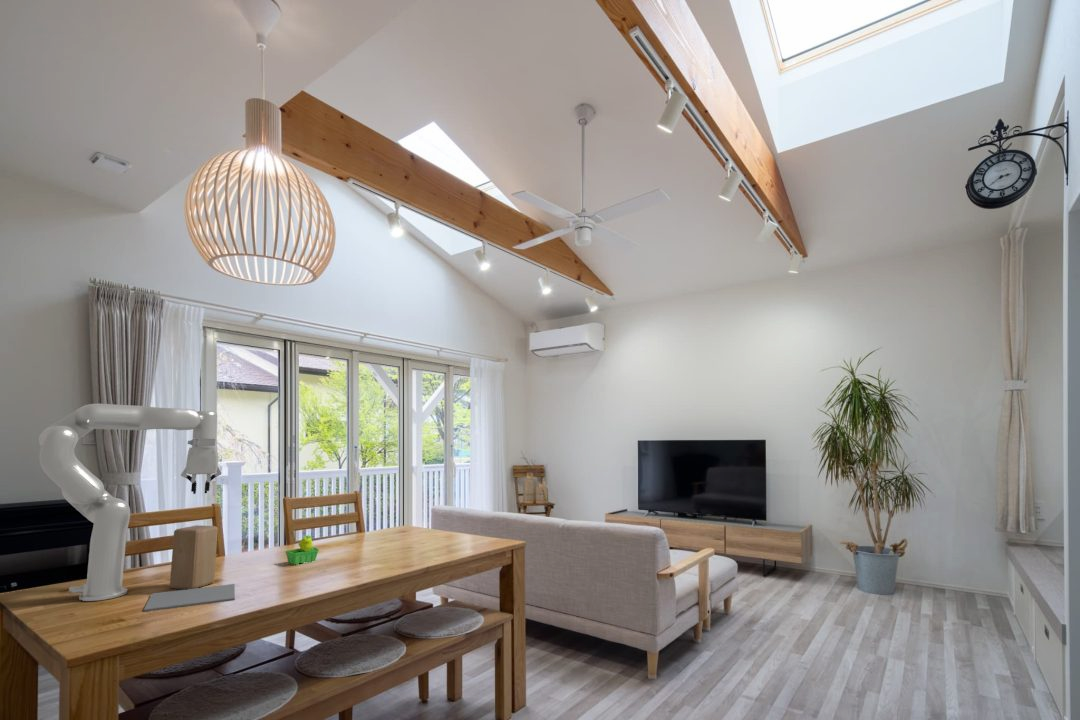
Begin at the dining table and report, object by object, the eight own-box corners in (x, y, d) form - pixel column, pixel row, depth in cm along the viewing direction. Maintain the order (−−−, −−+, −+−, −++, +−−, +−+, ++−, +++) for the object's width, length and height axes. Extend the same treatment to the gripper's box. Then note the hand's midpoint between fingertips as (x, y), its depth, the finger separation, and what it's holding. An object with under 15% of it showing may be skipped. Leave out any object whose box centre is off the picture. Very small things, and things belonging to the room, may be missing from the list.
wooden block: (168, 589, 193) (172, 529, 196) (192, 581, 203) (196, 524, 206) (192, 590, 191) (196, 530, 194) (215, 583, 200) (219, 525, 203)
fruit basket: (309, 559, 239) (311, 531, 241) (321, 561, 234) (322, 533, 235) (283, 563, 231) (285, 535, 232) (294, 566, 225) (296, 537, 227)
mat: (143, 611, 168) (143, 609, 168) (151, 595, 186) (152, 593, 186) (234, 600, 180) (234, 598, 180) (234, 585, 197) (234, 583, 197)
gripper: (177, 444, 205) (173, 495, 203) (228, 443, 213) (225, 493, 210) (178, 443, 212) (175, 493, 209) (228, 443, 219) (225, 491, 217)
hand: (200, 492), depth 210 cm, fingers open, 3 cm apart
